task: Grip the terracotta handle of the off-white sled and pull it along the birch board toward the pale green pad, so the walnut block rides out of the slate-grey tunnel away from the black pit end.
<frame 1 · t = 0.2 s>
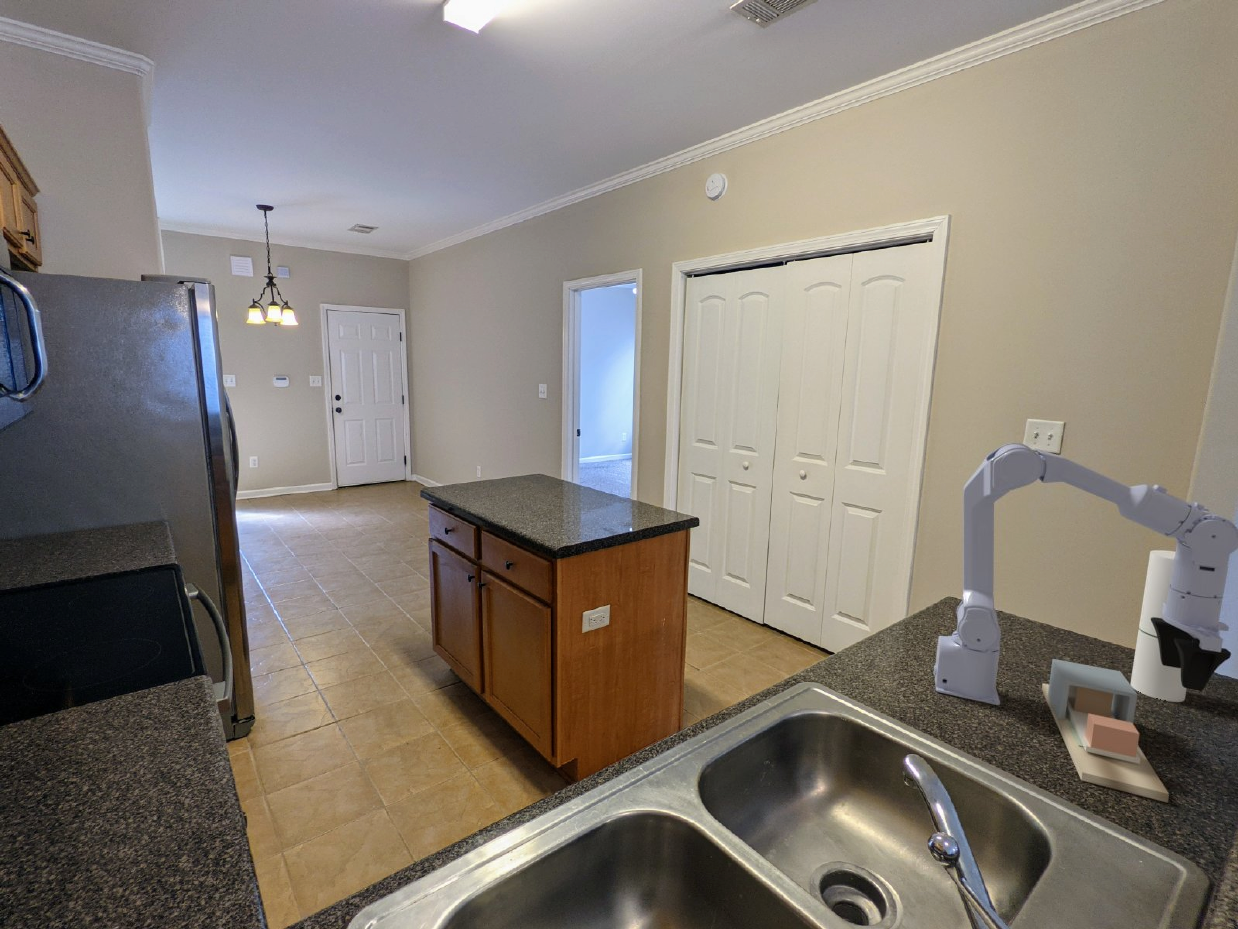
hand: (1181, 676, 88), 10 cm above the countertop, tool pointing down, fingers open, 7 cm apart
sled: (1097, 710, 89), point 4 cm above the countertop, slide at 0.0 cm
cylindrical container: (1156, 692, 103), on the countertop
tunnel: (1086, 720, 93), resting on board
board: (1094, 737, 89), on the countertop
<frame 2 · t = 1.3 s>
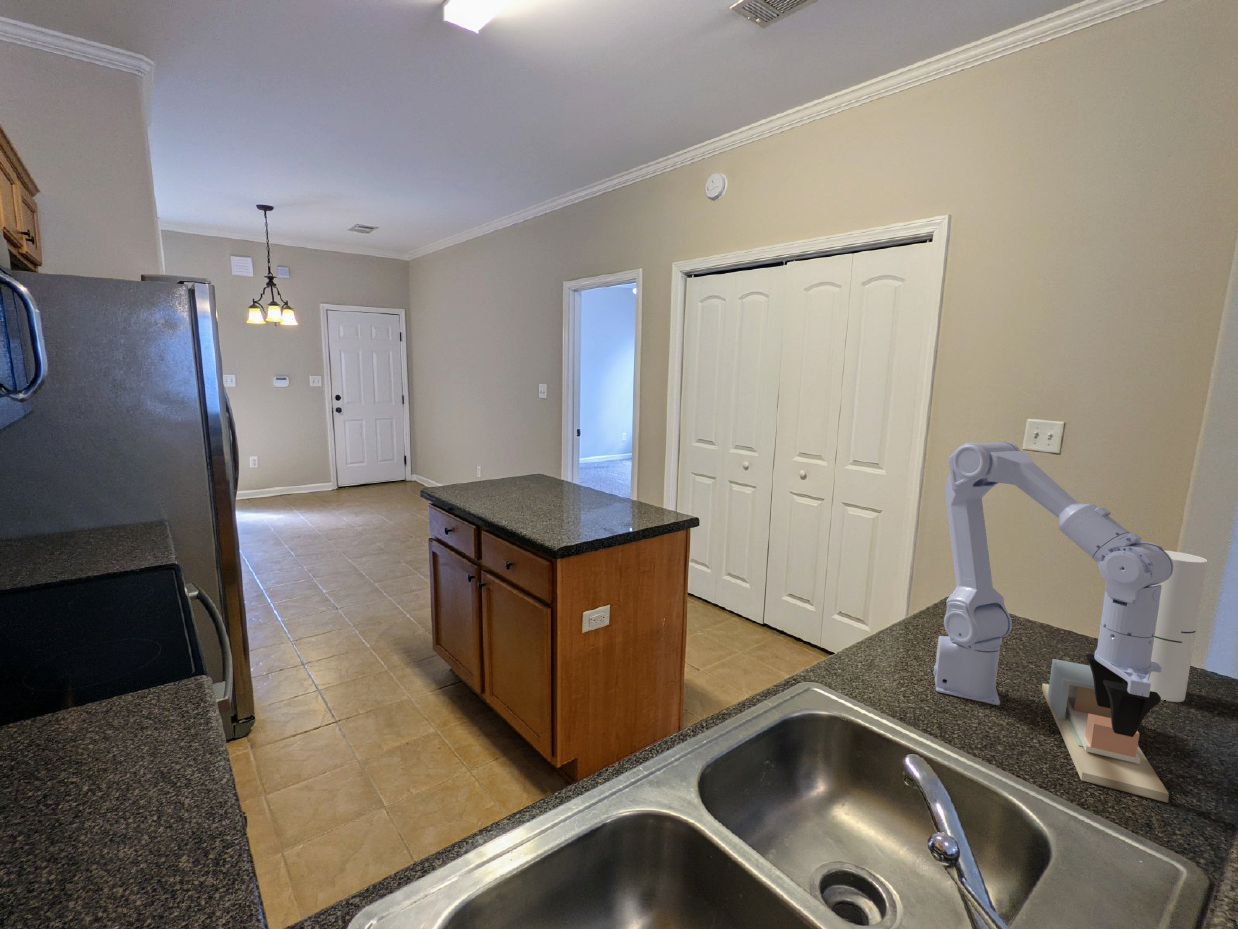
hand: (1114, 719, 82), 6 cm above the countertop, tool pointing down, fingers open, 7 cm apart
nothing on the countertop moved.
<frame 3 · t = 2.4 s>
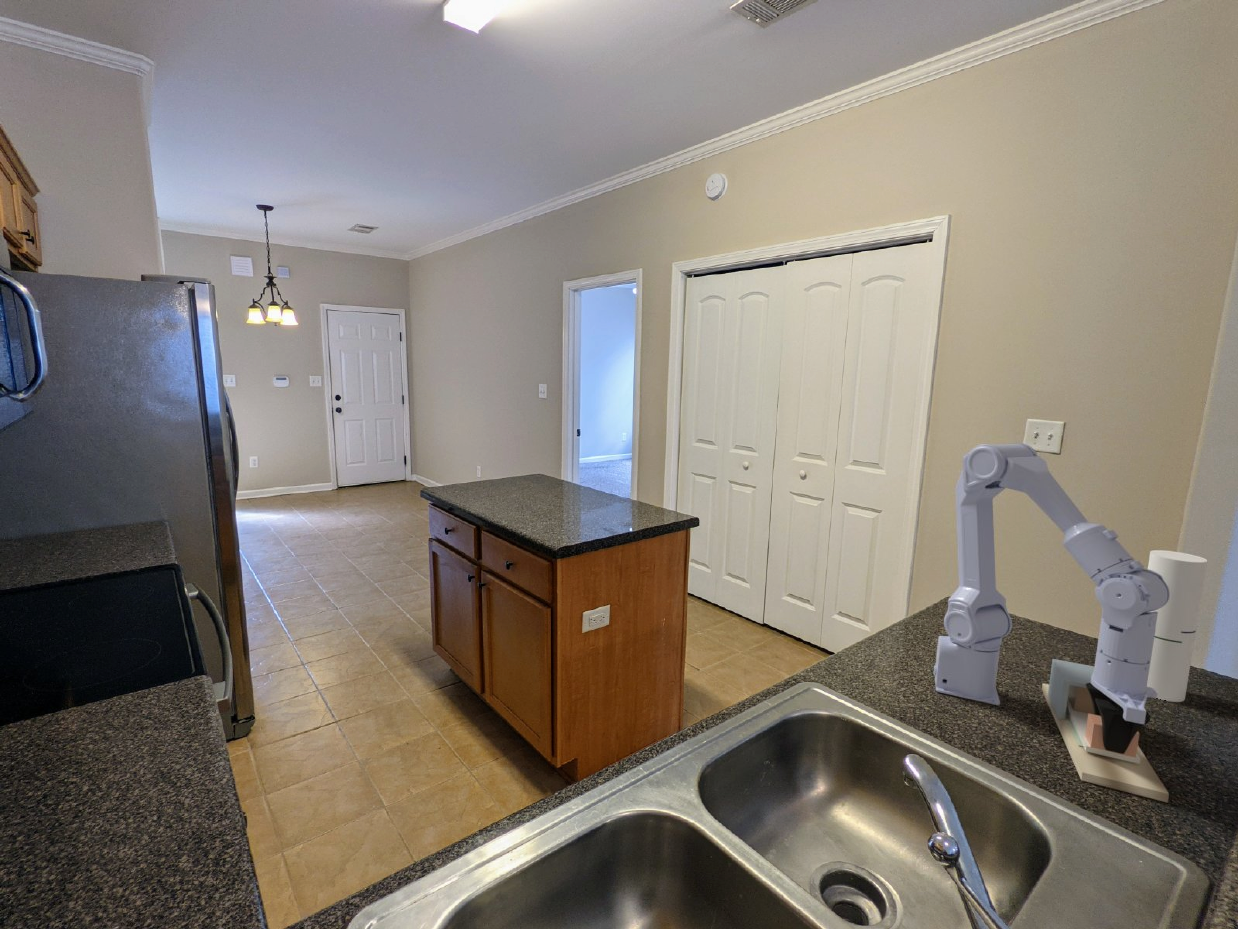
hand: (1110, 744, 83), 3 cm above the countertop, tool pointing down, fingers closed on sled, 3 cm apart
sled: (1097, 710, 89), point 4 cm above the countertop, slide at 0.0 cm, touching gripper
everything else where it was.
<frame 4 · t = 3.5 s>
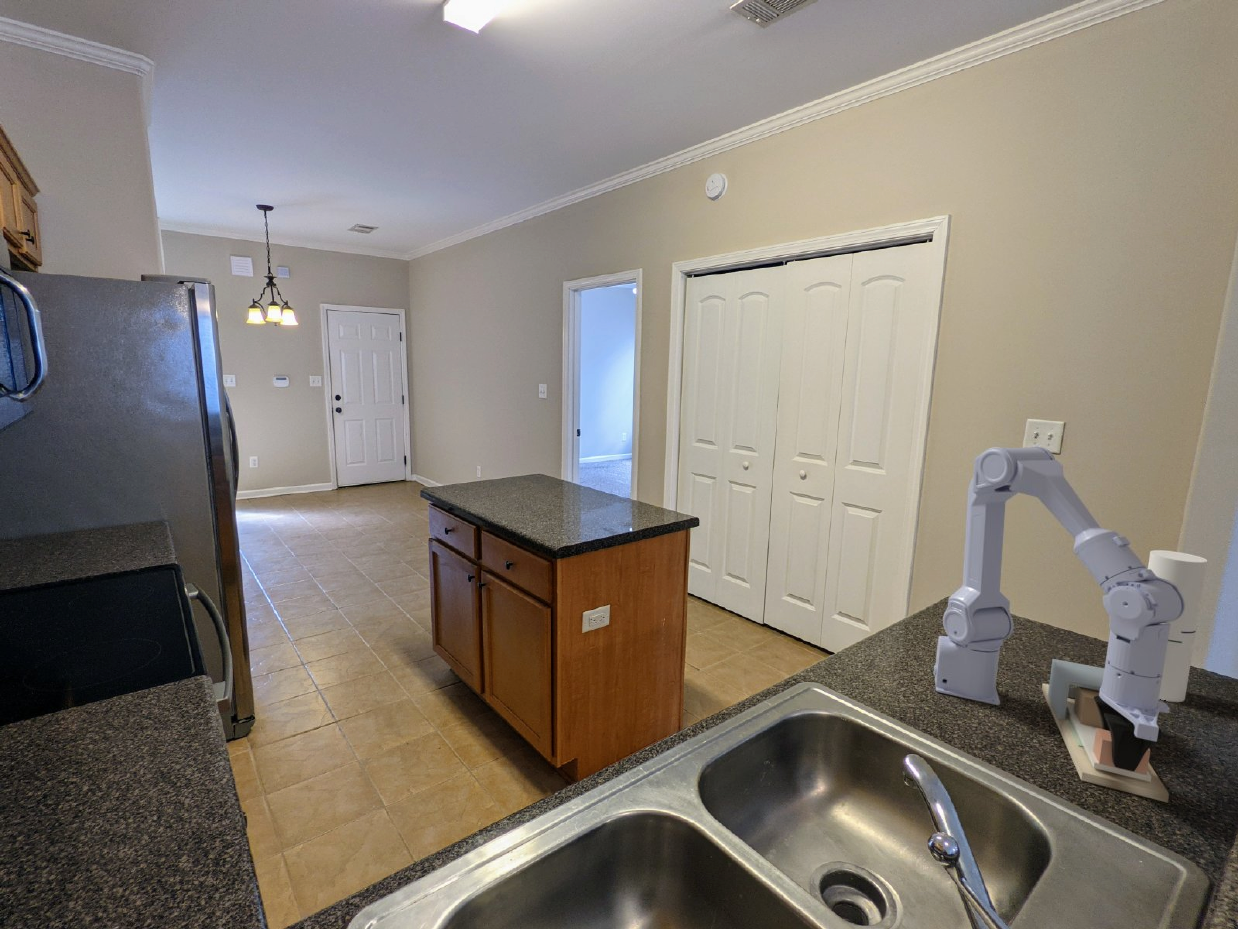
hand: (1119, 760, 79), 3 cm above the countertop, tool pointing down, fingers closed on sled, 3 cm apart
sled: (1105, 724, 85), point 4 cm above the countertop, slide at 4.2 cm, touching gripper
everything else where it was.
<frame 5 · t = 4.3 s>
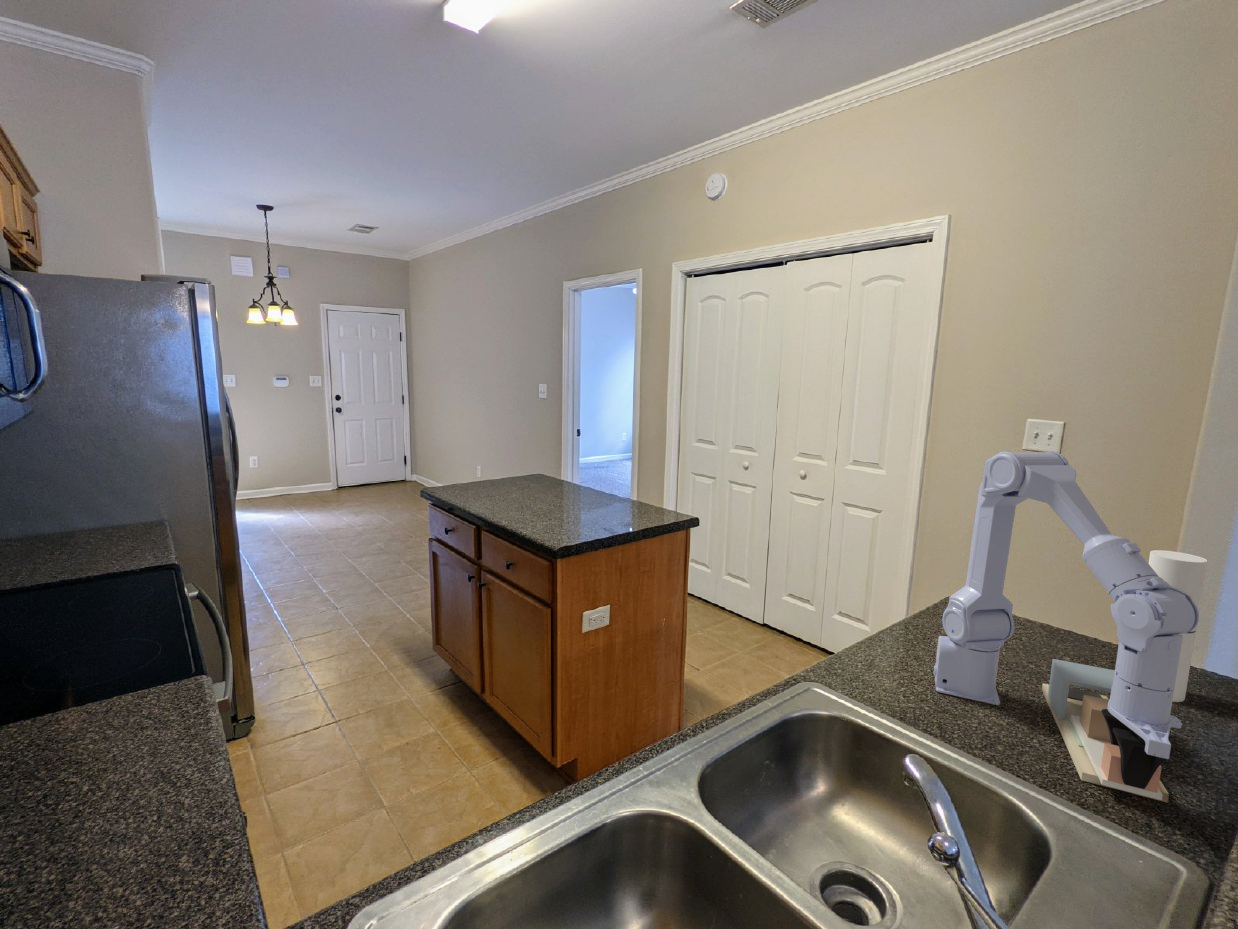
hand: (1128, 777, 76), 3 cm above the countertop, tool pointing down, fingers closed on sled, 3 cm apart
sled: (1113, 738, 82), point 4 cm above the countertop, slide at 8.0 cm, touching gripper
everything else where it was.
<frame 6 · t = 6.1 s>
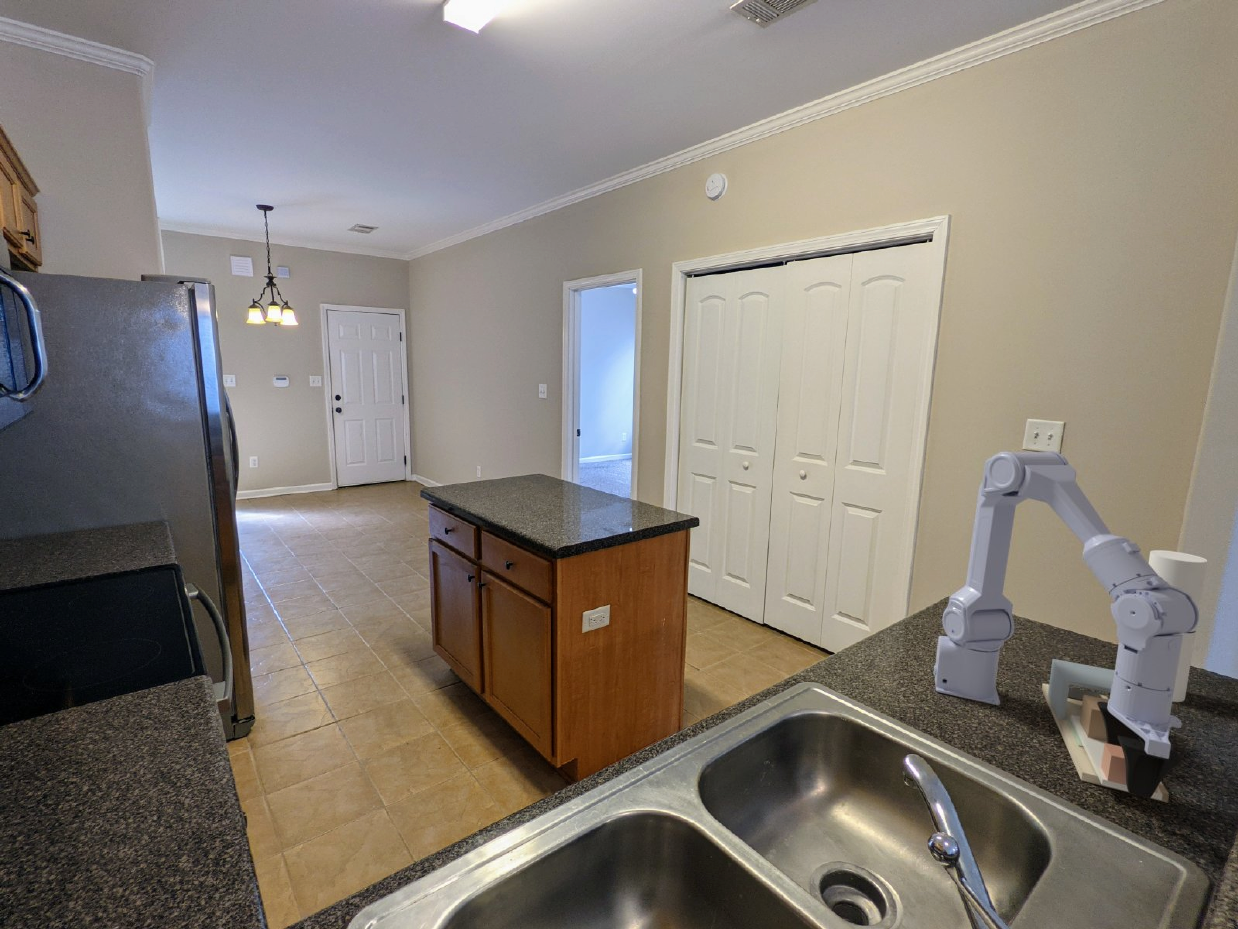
hand: (1128, 776, 76), 3 cm above the countertop, tool pointing down, fingers open, 7 cm apart
sled: (1113, 738, 82), point 4 cm above the countertop, slide at 8.0 cm
everything else where it was.
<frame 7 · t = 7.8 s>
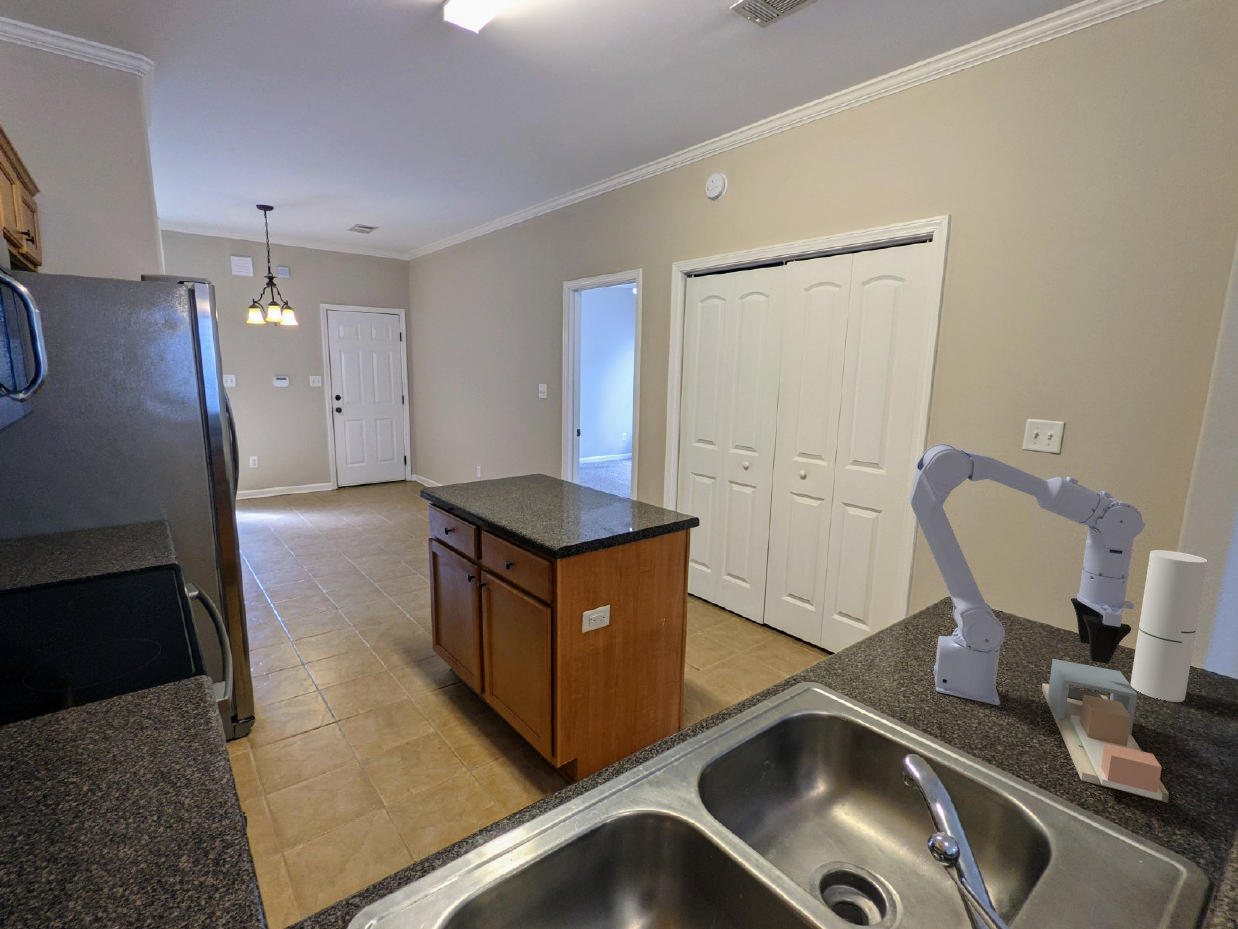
hand: (1093, 652, 95), 10 cm above the countertop, tool pointing down, fingers open, 7 cm apart
nothing on the countertop moved.
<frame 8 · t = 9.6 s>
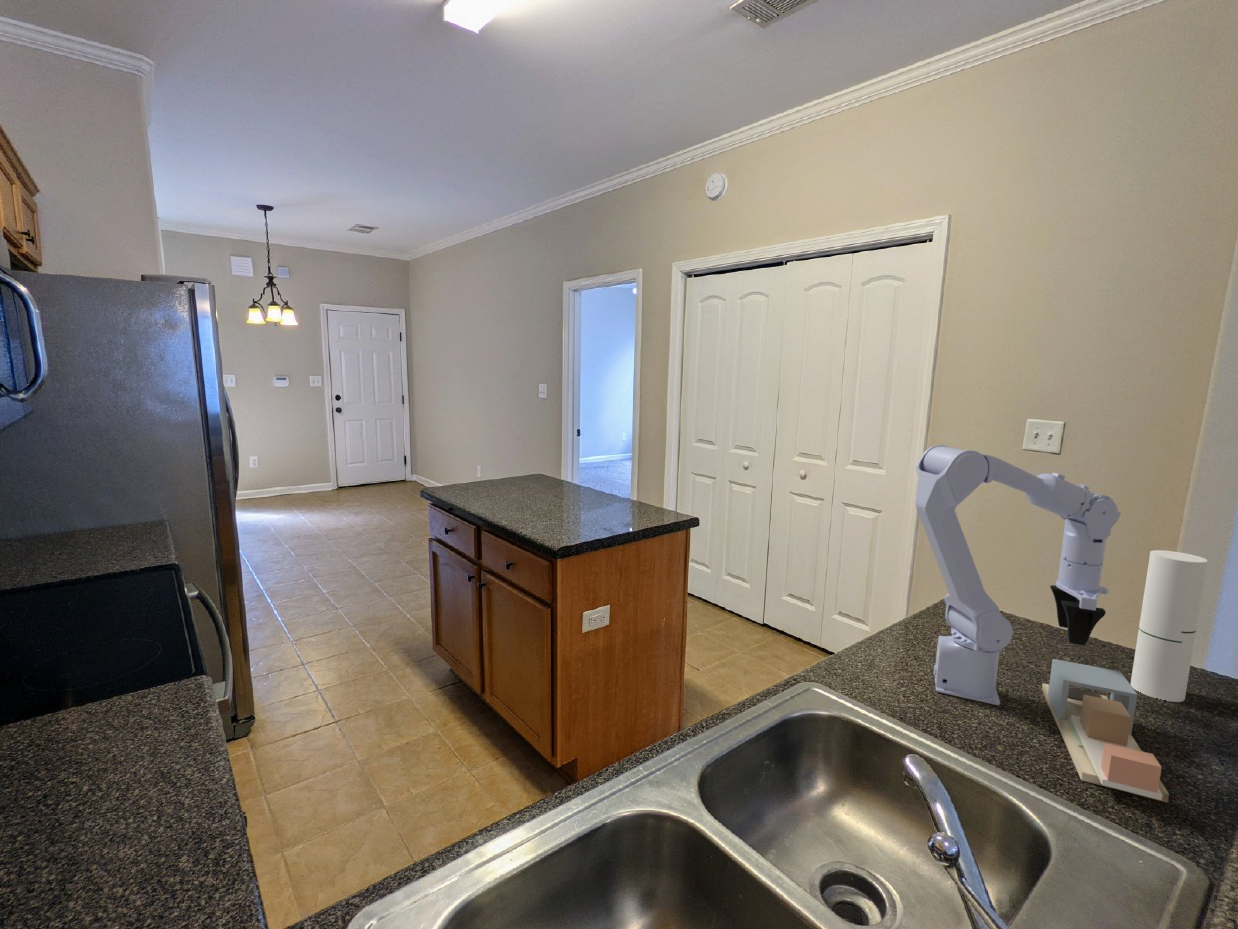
hand: (1071, 635, 101), 10 cm above the countertop, tool pointing down, fingers open, 7 cm apart
nothing on the countertop moved.
at the end: sled slide at 8.0 cm; the gripper is holding nothing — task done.
